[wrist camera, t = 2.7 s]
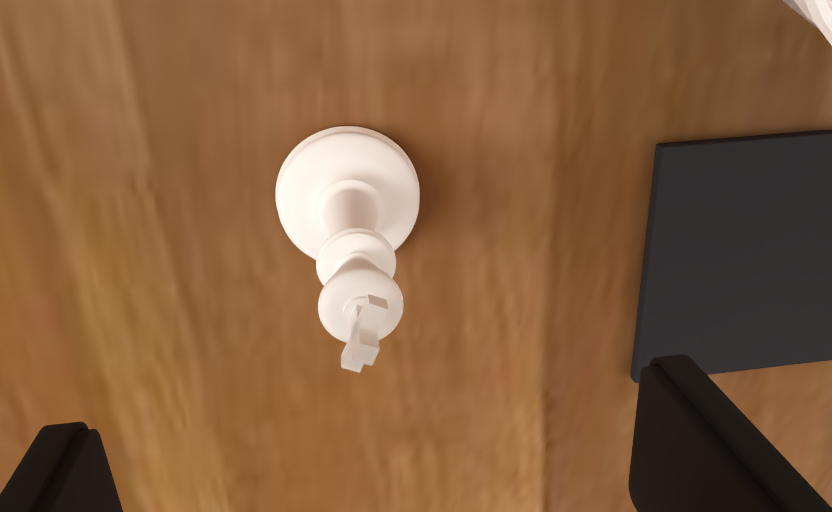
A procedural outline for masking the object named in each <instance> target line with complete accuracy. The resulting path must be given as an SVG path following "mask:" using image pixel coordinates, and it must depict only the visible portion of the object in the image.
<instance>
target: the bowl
mask: <svg viewBox="0 0 832 512" xmlns="http://www.w3.org/2000/svg"><path fill="white" fill-rule="evenodd" d="M782 1H783V2H784V3H786V4H787V5H788V6H789V7H791V8H792V9H793V10H794V11H796V12H797V13H798V14H800V15H801V16H802V17H803V18H805V19H806V20H807V21H809V22H810V23H811V24H812V25H814V26H815V27H817V28H819V29H820V31H821V32H822V33H823V35H824V36H825V37H826V39H827V40H828V41H829V43H830V44H831V45H832V0H782Z"/></svg>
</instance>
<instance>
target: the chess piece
mask: <svg viewBox="0 0 832 512" xmlns="http://www.w3.org/2000/svg"><path fill="white" fill-rule="evenodd" d="M419 202H420V189H419V182H418V177H417V174H416V171H415V169H414V166H413V164H412V163H411V161H410V159H409V158H408V156H407V155H406V153H405V152H404V151H403V150H402V149H401V148H400V147H399V146H398V145H397V144H396V143H395V142H393V141H392V140H391V139H389V138H388V137H386V136H384V135H383V134H381V133H378V132H376V131H373V130H370V129H367V128H363V127H356V126H340V127H333V128H329V129H325V130H322V131H320V132H317V133H315V134H313V135H311V136H309V137H308V138H306V139H305V140H303V141H302V142H301V143H300V144H298V145H297V146H296V147H295V148H294V149H293V150H292V152H291V153H290V154H289V155H288V157H287V158H286V160H285V161H284V163H283V165H282V167H281V169H280V172H279V175H278V179H277V183H276V206H277V210H278V214H279V218H280V221H281V224H282V226H283V228H284V230H285V232H286V234H287V235H288V237H289V238H290V239H291V241H292V242H293V243H294V244H295V245H296V246H297V247H298V248H299V249H300V250H301V251H303V252H304V253H305V254H307V255H308V256H310V257H311V258H313V259H315V260H316V269H317V274H318V277H319V279H320V281H321V282H322V284H323V285H324V287H323V289H322V291H321V294H320V297H319V301H318V313H319V317H320V320H321V322H322V324H323V326H324V327H325V329H326V330H327V331H328V332H329V333H330V334H331V335H333V336H334V337H335V338H337V339H339V340H341V341H344V342H347V343H346V346H345V348H344V350H343V353H342V355H341V368H345V369H348V370H352V371H356V372H359V373H360V371H361V369H362V367H363V364H367V365H371V366H372V365H373V363H374V360H375V358H376V356H377V354H378V352H379V350H380V348H379V341H378V340H380V339H382V338H384V337H385V336H387V335H388V334H389V333H391V332H392V331H393V330H394V328H395V327H396V326H397V324H398V323H399V321H400V319H401V316H402V313H403V297H402V293H401V291H400V289H399V287H398V285H397V284H396V282H395V281H394V280H393V279H392V278H393V275H394V273H395V268H396V257H395V253H394V251H395V250H396V249H397V248H398V247H399V246H400V245H401V244H402V243H403V242H404V241H405V240H406V238H407V237H408V235H409V234H410V232H411V231H412V229H413V227H414V224H415V222H416V219H417V215H418V211H419Z"/></svg>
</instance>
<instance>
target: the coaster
mask: <svg viewBox="0 0 832 512" xmlns="http://www.w3.org/2000/svg"><path fill="white" fill-rule="evenodd" d="M679 354H685V355H688V356H689V357H690V358H691V359H692V360H693V361H694V362H695V363H696V364H697V365H698V366H699V367H700V368H701V369H702V370H703V372H704V373H705V374H706V375H708V374H717V373H725V372H734V371H742V370H750V369H759V368H767V367H776V366H784V365H793V364H801V363H809V362H818V361H826V360H832V130H822V131H810V132H797V133H785V134H773V135H760V136H748V137H736V138H723V139H711V140H698V141H686V142H674V143H661V144H657V145H656V153H655V162H654V171H653V180H652V189H651V197H650V206H649V215H648V224H647V233H646V242H645V251H644V260H643V269H642V278H641V287H640V296H639V305H638V314H637V323H636V332H635V340H634V349H633V358H632V367H631V378H632V379H633V381H634V382H635V383H639V382H640V374H641V370H642V368H643V367H646V366H649V363H650V361H651V359H652V358H654V357H661V356H670V355H679Z"/></svg>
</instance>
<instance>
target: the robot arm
mask: <svg viewBox="0 0 832 512" xmlns="http://www.w3.org/2000/svg"><path fill="white" fill-rule="evenodd" d="M629 492H630V496H631V499H632V502H633V504H634V506H635V508H636V510H637V511H638V512H832V508H831V507H830V506H829V505H828V504H827V502H826V501H825V500H824V499H823V498H822V497H821V496H820V495H819V494H818V493H817V492H816V491H815V490H814V489H813V488H812V487H811V485H810V484H809V483H808V482H807V481H806V480H805V479H804V478H803V477H802V476H801V475H800V474H799V473H798V472H797V471H796V469H795V468H794V467H793V466H792V465H791V464H790V463H789V462H788V461H787V460H786V459H785V458H784V457H783V456H782V455H781V454H780V452H779V451H778V450H777V449H776V448H775V447H774V446H773V445H772V444H771V443H770V442H769V441H768V440H767V439H766V438H765V436H764V435H763V434H762V433H761V432H760V431H759V430H758V429H757V428H756V427H755V426H754V425H753V424H752V423H751V422H750V420H749V419H748V418H747V417H746V416H745V415H744V414H743V413H742V412H741V411H740V410H739V409H738V408H737V407H736V406H735V405H734V403H733V402H732V401H731V400H730V399H729V398H728V397H727V396H726V395H725V394H724V393H723V392H722V391H721V390H720V389H719V387H718V386H717V385H716V384H715V383H714V382H713V381H712V380H711V379H710V378H709V377H708V376H707V375H706V374H705V373H704V372H703V370H702V369H701V368H700V367H699V366H698V365H697V364H696V363H695V362H694V361H693V360H692V359H691V358H690V357H689V356H688V355H685V354H679V355H670V356H661V357H654V358H652V359H651V361H650V363H649V366H646V367H643V368H642V370H641V374H640V382H639V392H638V401H637V410H636V419H635V428H634V437H633V447H632V456H631V465H630V474H629ZM0 512H123V510H122V507H121V503H120V500H119V497H118V493H117V490H116V487H115V483H114V480H113V477H112V473H111V470H110V467H109V463H108V460H107V457H106V453H105V450H104V447H103V443H102V440H101V437H100V434H99V432H98V431H97V430H96V429H90V430H89V429H88V427H87V425H86V424H85V423H84V422H73V423H64V424H55V425H47V426H45V427H43V428H42V429H41V430H40V431H39V433H38V435H37V436H36V438H35V439H34V441H33V443H32V444H31V446H30V448H29V449H28V451H27V452H26V454H25V456H24V457H23V459H22V460H21V462H20V464H19V465H18V467H17V468H16V470H15V472H14V473H13V475H12V477H11V478H10V480H9V481H8V483H7V485H6V486H5V488H4V489H3V491H2V493H1V494H0Z"/></svg>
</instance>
